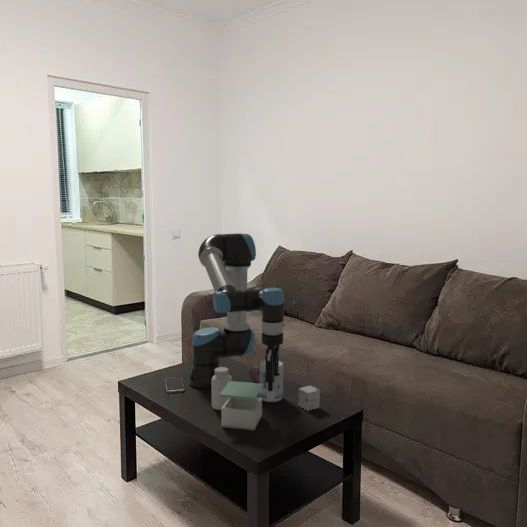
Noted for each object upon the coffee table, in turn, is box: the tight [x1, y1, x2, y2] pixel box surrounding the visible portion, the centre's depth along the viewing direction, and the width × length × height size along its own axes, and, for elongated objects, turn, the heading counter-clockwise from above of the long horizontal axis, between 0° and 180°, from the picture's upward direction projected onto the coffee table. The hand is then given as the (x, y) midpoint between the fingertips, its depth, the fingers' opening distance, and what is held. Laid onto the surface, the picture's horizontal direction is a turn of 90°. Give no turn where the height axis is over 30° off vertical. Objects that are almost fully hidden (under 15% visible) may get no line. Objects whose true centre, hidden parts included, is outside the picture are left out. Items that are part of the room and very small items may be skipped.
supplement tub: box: [258, 359, 284, 403], centre depth 208 cm, size 10×10×15 cm
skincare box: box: [297, 385, 321, 412], centre depth 200 cm, size 6×6×7 cm
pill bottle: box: [211, 366, 233, 411], centre depth 200 cm, size 8×8×15 cm
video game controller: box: [248, 365, 260, 383], centre depth 229 cm, size 10×5×7 cm, turn 163°
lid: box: [219, 376, 276, 400], centre depth 185 cm, size 13×18×7 cm
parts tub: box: [220, 397, 263, 431], centre depth 187 cm, size 12×12×7 cm
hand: (272, 396), depth 184 cm, fingers closed on lid, 4 cm apart
